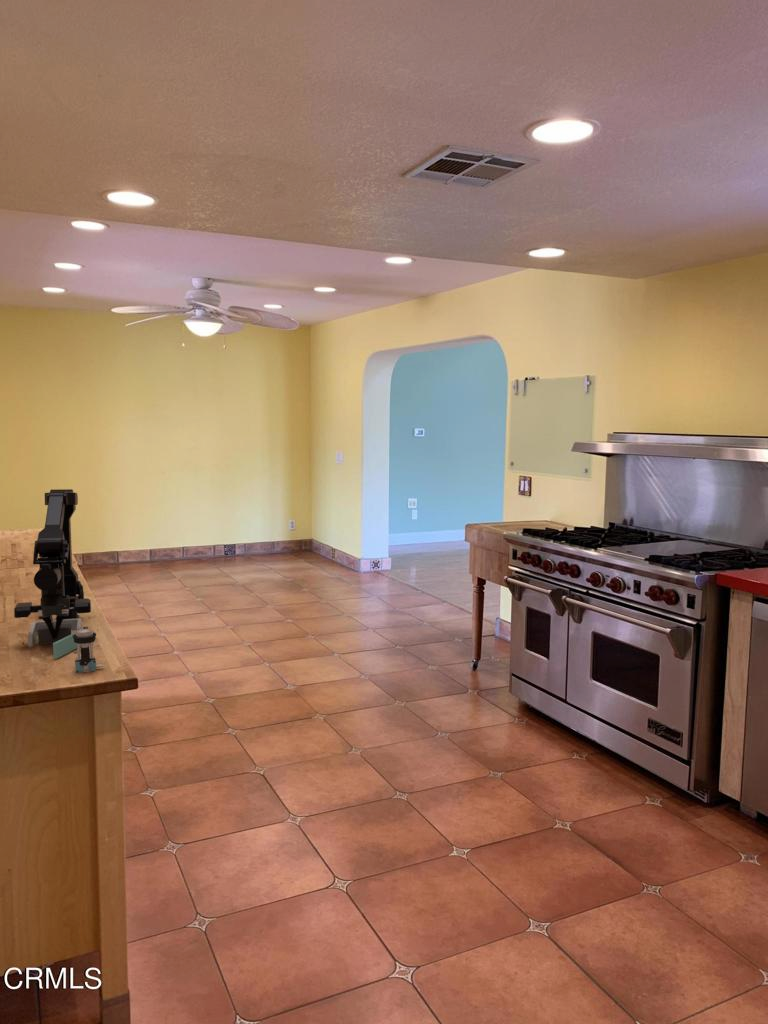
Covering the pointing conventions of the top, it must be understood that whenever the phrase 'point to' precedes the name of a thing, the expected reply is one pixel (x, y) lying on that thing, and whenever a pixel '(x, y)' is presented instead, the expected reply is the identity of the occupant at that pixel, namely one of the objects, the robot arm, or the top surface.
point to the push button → (85, 651)
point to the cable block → (45, 634)
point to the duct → (75, 623)
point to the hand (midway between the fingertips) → (54, 638)
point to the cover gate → (64, 646)
